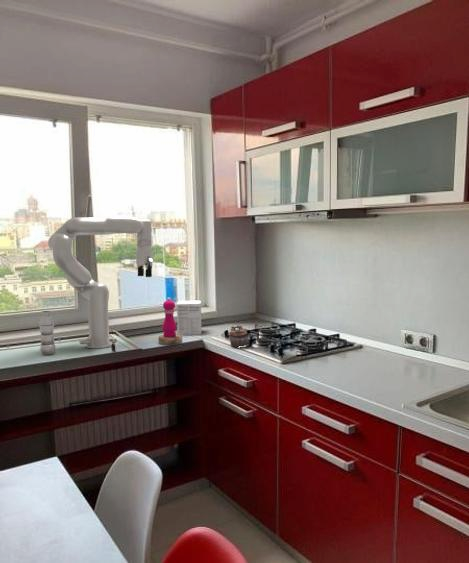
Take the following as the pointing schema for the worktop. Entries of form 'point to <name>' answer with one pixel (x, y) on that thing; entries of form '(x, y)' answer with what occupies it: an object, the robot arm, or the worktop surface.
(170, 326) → the pepper mill
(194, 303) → the supplement box
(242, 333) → the cupcake
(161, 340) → the walnut pedestal
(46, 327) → the plastic bottle
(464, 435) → the worktop surface
